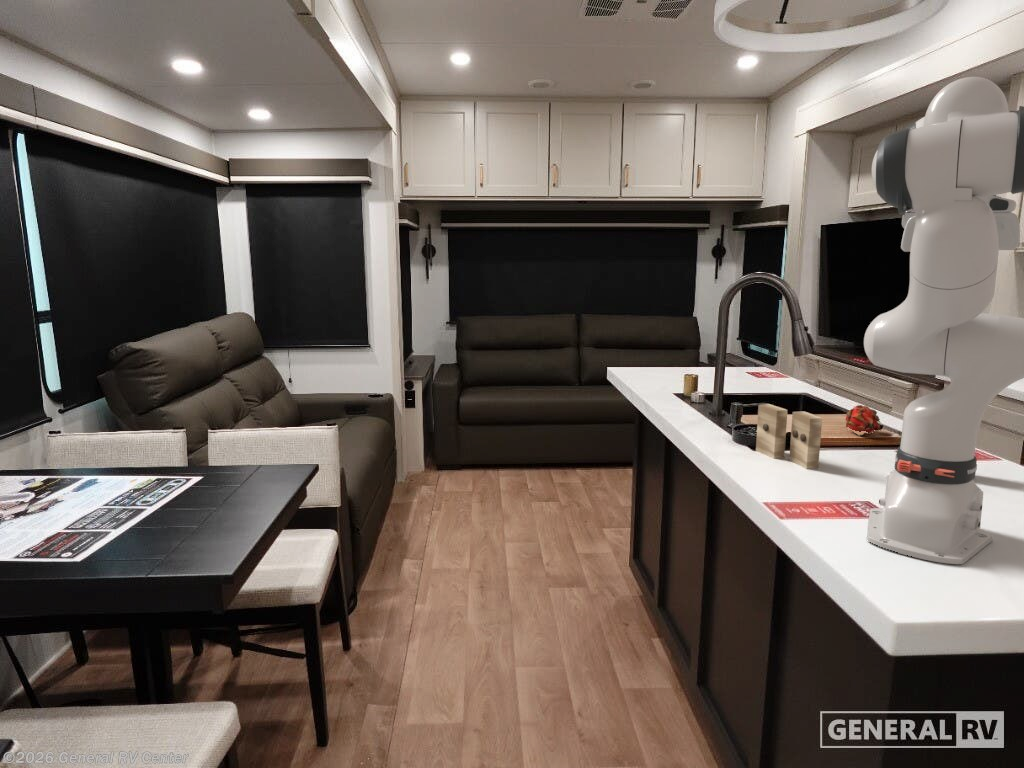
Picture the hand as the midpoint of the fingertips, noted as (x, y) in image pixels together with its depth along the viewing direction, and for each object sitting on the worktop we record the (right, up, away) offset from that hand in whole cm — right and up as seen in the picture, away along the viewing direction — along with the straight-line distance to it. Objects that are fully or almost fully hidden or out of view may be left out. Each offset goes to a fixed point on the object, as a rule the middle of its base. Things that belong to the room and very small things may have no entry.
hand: (954, 273), depth 135 cm
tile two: (-23, -42, +19) cm, 52 cm away
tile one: (-28, -41, +27) cm, 56 cm away
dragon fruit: (+4, -37, +44) cm, 57 cm away
